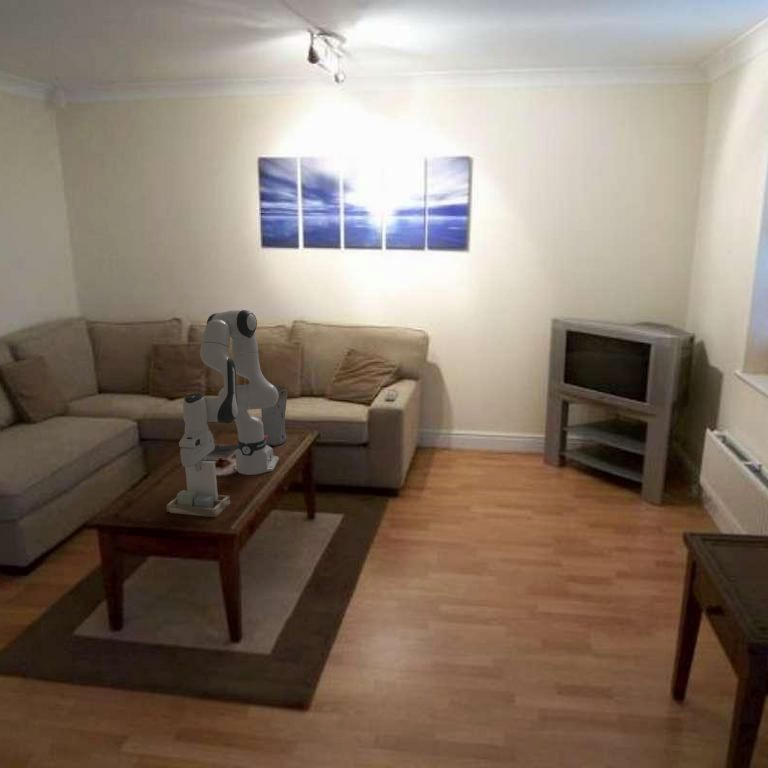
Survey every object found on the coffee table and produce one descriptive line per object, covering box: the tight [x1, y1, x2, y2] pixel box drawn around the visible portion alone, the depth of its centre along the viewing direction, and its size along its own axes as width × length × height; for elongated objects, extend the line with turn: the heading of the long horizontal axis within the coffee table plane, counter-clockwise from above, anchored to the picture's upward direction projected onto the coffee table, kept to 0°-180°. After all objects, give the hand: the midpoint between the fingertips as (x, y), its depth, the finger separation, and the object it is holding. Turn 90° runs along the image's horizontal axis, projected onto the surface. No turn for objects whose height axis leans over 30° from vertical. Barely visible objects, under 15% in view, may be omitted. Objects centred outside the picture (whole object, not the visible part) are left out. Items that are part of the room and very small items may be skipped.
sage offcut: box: [176, 489, 197, 507], centre depth 258 cm, size 4×6×7 cm, turn 77°
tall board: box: [184, 460, 219, 500], centre depth 261 cm, size 2×12×18 cm, turn 77°
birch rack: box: [165, 494, 231, 518], centre depth 259 cm, size 13×20×3 cm, turn 77°
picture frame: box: [206, 443, 239, 461], centre depth 317 cm, size 16×2×22 cm
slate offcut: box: [194, 495, 214, 508], centre depth 256 cm, size 4×6×6 cm, turn 77°
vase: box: [260, 384, 288, 447], centre depth 327 cm, size 13×14×28 cm
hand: (200, 469), depth 259 cm, fingers closed on tall board, 2 cm apart
